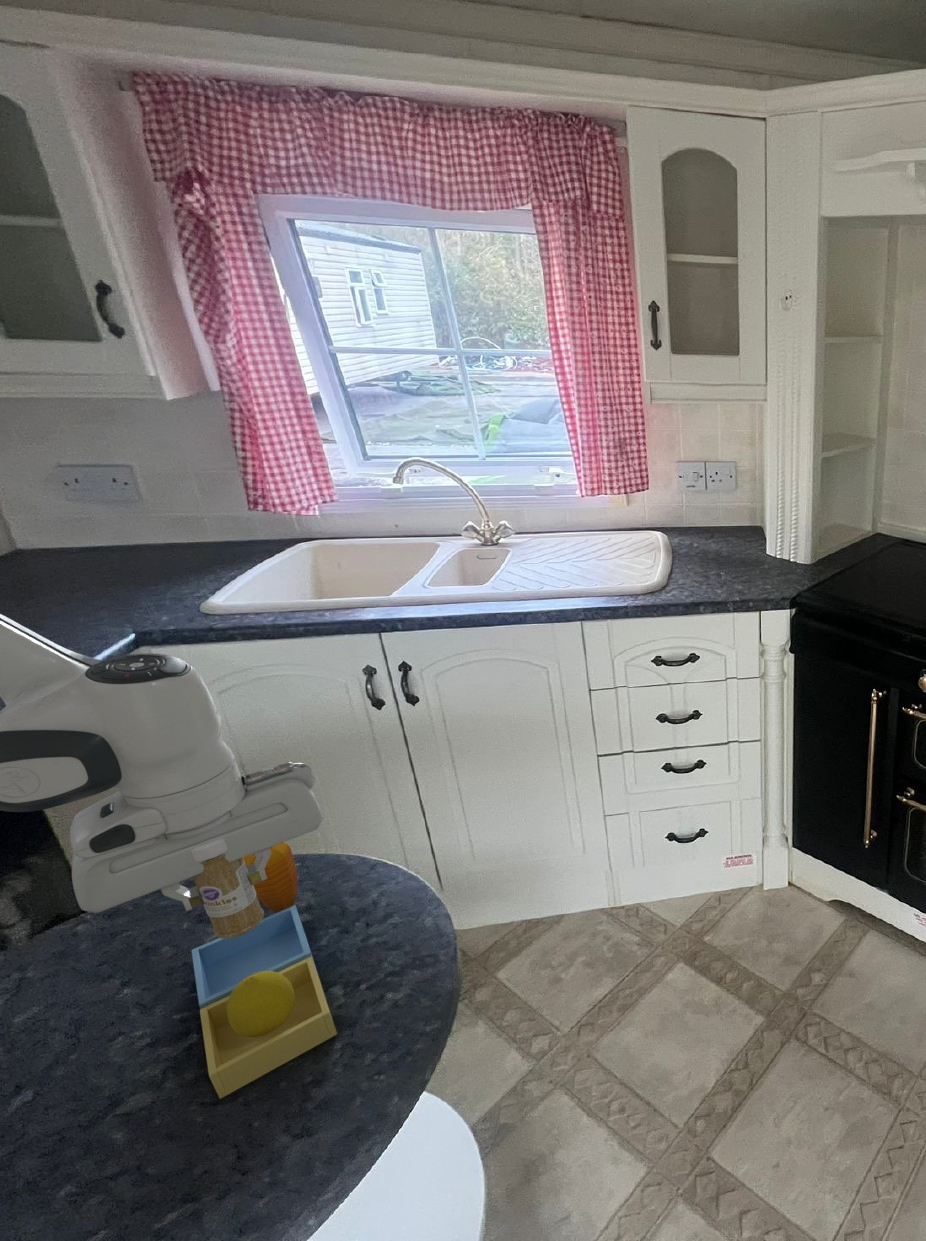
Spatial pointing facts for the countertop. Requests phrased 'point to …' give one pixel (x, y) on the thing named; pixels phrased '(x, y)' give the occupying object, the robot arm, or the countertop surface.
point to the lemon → (260, 1004)
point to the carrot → (277, 879)
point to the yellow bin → (255, 1056)
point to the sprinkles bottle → (226, 891)
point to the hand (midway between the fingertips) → (227, 892)
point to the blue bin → (249, 955)
